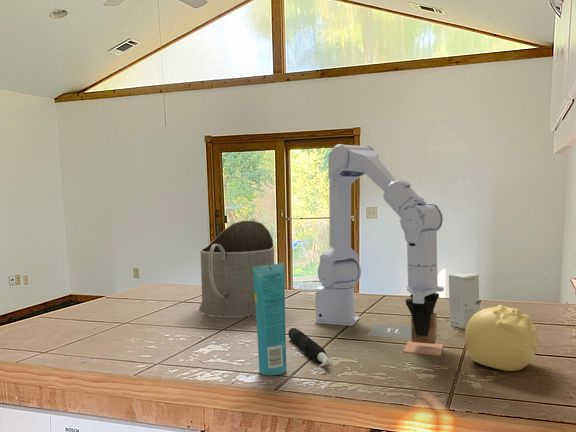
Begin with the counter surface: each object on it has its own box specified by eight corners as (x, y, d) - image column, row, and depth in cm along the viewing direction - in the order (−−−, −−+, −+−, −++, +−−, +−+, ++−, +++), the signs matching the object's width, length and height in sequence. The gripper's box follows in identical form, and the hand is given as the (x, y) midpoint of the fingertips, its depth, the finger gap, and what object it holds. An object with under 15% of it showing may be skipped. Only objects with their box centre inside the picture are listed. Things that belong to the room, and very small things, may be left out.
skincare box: (464, 329, 107) (463, 277, 107) (448, 325, 111) (447, 274, 111) (481, 325, 111) (480, 274, 110) (464, 321, 114) (463, 272, 114)
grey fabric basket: (287, 300, 145) (285, 219, 144) (256, 327, 114) (253, 225, 114) (217, 298, 151) (215, 221, 150) (170, 324, 120) (166, 226, 119)
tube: (276, 362, 88) (273, 261, 88) (296, 368, 85) (293, 263, 85) (248, 374, 83) (245, 266, 82) (268, 380, 79) (265, 268, 79)
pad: (403, 352, 92) (403, 351, 92) (408, 342, 99) (408, 341, 99) (440, 356, 90) (440, 354, 90) (443, 345, 96) (443, 344, 96)
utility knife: (338, 371, 84) (338, 354, 84) (318, 374, 82) (317, 357, 82) (299, 339, 104) (298, 325, 104) (282, 341, 103) (281, 327, 103)
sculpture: (536, 382, 76) (535, 316, 76) (459, 369, 82) (458, 308, 82) (541, 360, 86) (540, 302, 85) (472, 351, 92) (471, 296, 92)
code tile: (366, 335, 105) (366, 334, 105) (376, 324, 114) (376, 323, 114) (412, 339, 101) (412, 338, 101) (418, 327, 110) (418, 326, 110)
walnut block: (411, 342, 93) (411, 316, 93) (414, 335, 97) (414, 312, 97) (434, 344, 91) (434, 318, 91) (436, 337, 95) (436, 313, 95)
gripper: (440, 270, 85) (441, 344, 86) (445, 260, 99) (447, 324, 99) (400, 269, 88) (402, 340, 88) (411, 259, 101) (412, 322, 102)
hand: (423, 332), depth 94 cm, fingers closed on walnut block, 4 cm apart
